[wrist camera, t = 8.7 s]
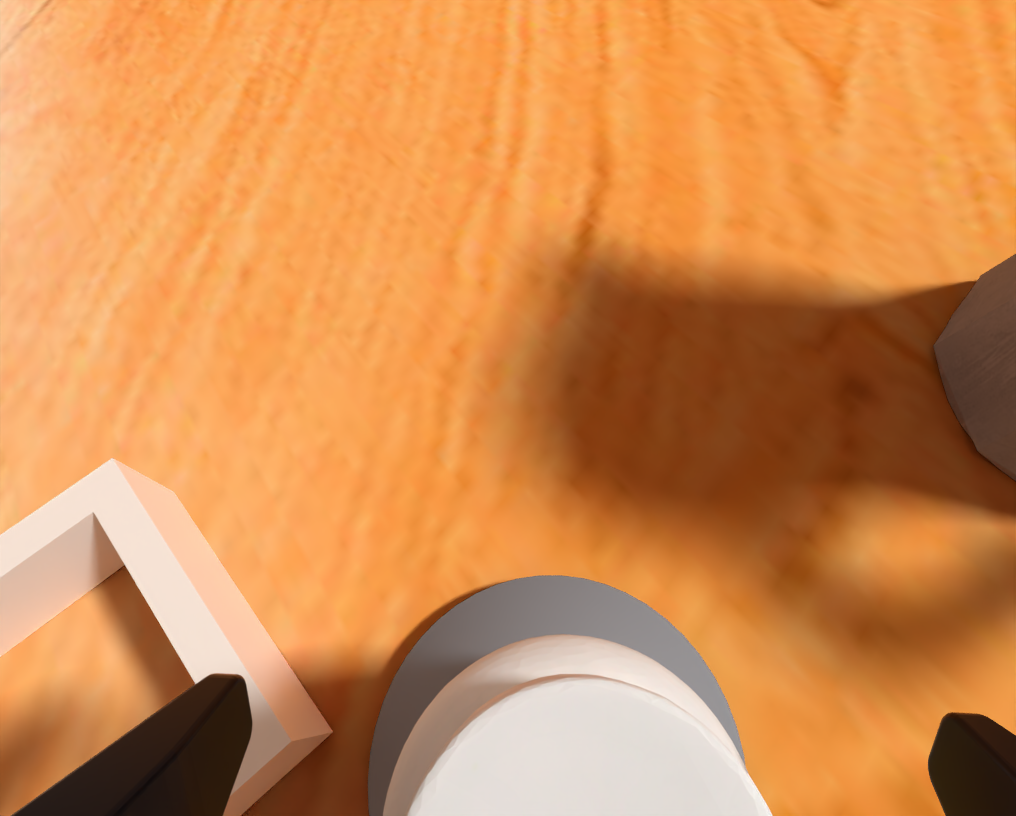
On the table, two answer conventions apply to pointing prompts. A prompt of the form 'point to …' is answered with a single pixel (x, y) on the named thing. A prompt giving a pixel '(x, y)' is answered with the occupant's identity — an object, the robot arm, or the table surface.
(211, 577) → the desk organizer
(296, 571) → the table surface
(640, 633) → the mat
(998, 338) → the coffeepot
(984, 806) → the robot arm
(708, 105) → the table surface
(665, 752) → the supplement bottle
